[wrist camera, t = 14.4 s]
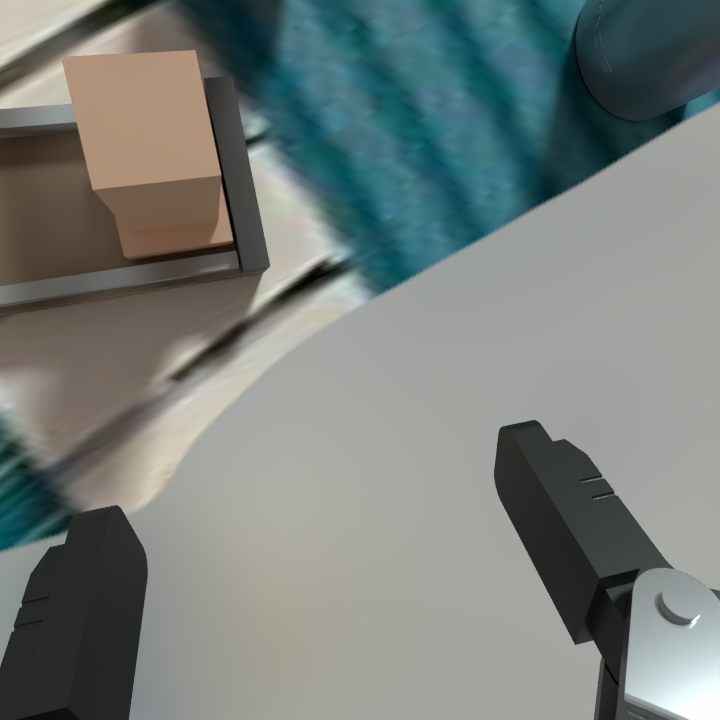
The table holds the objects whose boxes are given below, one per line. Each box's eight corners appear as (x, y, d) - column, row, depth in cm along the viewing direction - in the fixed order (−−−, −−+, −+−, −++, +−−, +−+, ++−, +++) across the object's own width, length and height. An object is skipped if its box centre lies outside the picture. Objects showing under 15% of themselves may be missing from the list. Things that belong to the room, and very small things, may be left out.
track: (229, 107, 28) (232, 76, 25) (263, 273, 29) (270, 266, 26) (-224, 144, 23) (-302, 112, 20) (-165, 342, 24) (-229, 345, 21)
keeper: (207, 128, 27) (204, 17, 17) (231, 246, 27) (242, 203, 18) (101, 137, 25) (35, 23, 16) (130, 261, 26) (82, 223, 16)
